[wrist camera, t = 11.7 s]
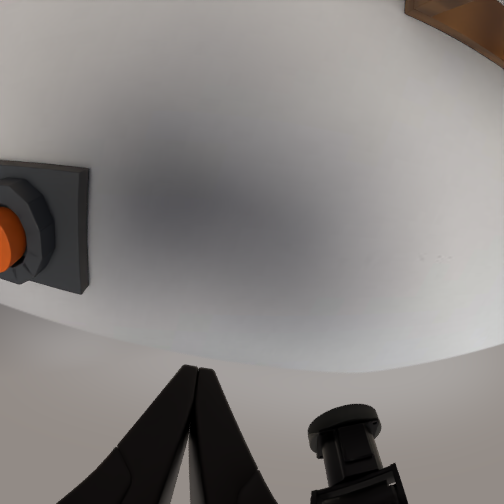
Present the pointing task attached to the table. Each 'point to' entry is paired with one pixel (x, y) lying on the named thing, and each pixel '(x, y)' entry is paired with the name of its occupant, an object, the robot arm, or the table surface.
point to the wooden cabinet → (466, 22)
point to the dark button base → (48, 223)
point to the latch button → (10, 238)
